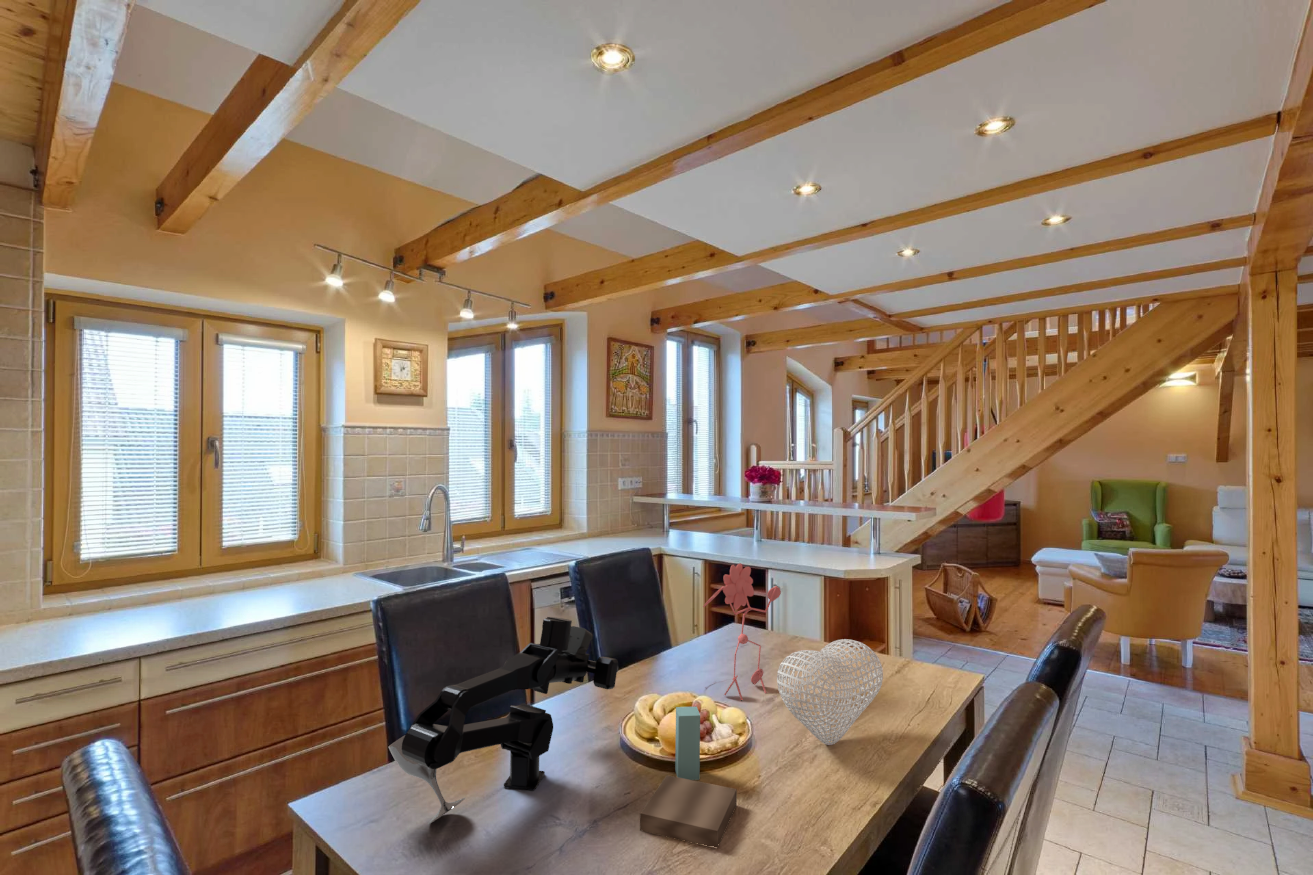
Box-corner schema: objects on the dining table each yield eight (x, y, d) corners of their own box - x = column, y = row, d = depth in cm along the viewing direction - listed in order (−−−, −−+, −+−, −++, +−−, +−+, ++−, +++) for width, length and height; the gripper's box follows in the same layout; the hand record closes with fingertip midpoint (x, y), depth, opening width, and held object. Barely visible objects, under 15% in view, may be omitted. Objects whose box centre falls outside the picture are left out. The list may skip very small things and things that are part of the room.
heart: (840, 717, 160) (840, 628, 161) (895, 740, 148) (896, 644, 148) (762, 748, 144) (763, 648, 144) (817, 777, 131) (818, 668, 131)
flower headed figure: (789, 687, 180) (787, 562, 181) (722, 710, 164) (720, 572, 165) (749, 672, 192) (748, 555, 193) (683, 692, 176) (682, 564, 177)
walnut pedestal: (639, 830, 112) (640, 813, 112) (666, 790, 126) (666, 775, 126) (717, 848, 108) (717, 831, 108) (736, 805, 121) (736, 789, 121)
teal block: (678, 780, 129) (678, 716, 129) (675, 769, 134) (675, 707, 134) (699, 779, 130) (700, 715, 130) (696, 768, 134) (696, 706, 134)
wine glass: (473, 791, 118) (436, 717, 122) (459, 804, 111) (420, 725, 114) (435, 817, 118) (399, 741, 121) (418, 831, 110) (380, 751, 113)
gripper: (600, 636, 134) (639, 636, 147) (533, 622, 144) (576, 623, 157) (591, 692, 132) (632, 687, 145) (524, 674, 142) (568, 670, 154)
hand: (601, 665), depth 150 cm, fingers open, 9 cm apart
